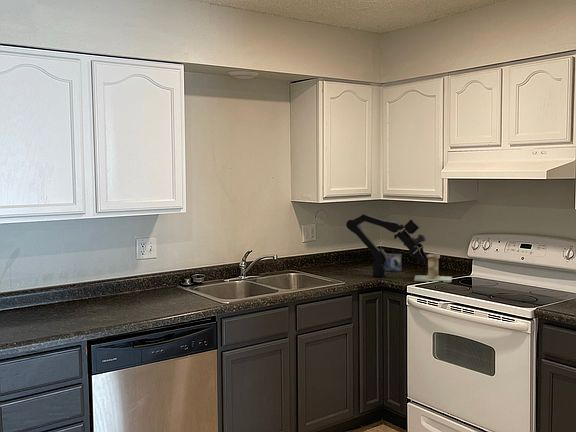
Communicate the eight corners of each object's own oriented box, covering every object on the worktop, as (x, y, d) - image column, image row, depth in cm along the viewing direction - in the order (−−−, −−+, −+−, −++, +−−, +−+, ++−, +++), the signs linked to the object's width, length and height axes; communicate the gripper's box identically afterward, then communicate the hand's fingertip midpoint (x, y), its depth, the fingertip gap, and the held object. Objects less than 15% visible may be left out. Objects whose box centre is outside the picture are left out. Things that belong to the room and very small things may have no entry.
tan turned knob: (428, 278, 334) (429, 256, 333) (424, 276, 341) (424, 254, 340) (441, 278, 334) (441, 255, 334) (436, 276, 342) (437, 254, 341)
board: (414, 280, 335) (414, 278, 334) (415, 277, 346) (415, 275, 346) (451, 282, 329) (451, 280, 329) (451, 278, 341) (451, 276, 341)
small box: (383, 271, 366) (383, 254, 366) (384, 270, 373) (384, 253, 372) (401, 272, 364) (401, 255, 363) (401, 270, 370) (401, 253, 370)
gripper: (414, 231, 330) (434, 252, 327) (419, 228, 348) (438, 248, 345) (399, 245, 334) (419, 266, 331) (405, 241, 351) (424, 261, 348)
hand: (425, 260), depth 338 cm, fingers open, 9 cm apart
